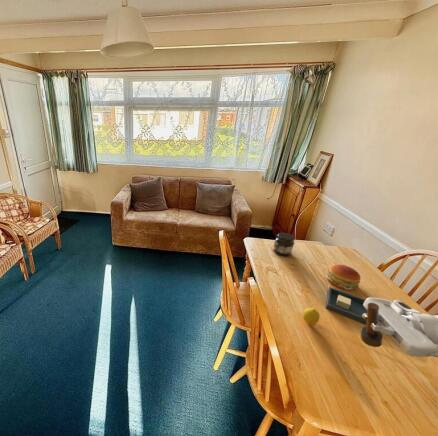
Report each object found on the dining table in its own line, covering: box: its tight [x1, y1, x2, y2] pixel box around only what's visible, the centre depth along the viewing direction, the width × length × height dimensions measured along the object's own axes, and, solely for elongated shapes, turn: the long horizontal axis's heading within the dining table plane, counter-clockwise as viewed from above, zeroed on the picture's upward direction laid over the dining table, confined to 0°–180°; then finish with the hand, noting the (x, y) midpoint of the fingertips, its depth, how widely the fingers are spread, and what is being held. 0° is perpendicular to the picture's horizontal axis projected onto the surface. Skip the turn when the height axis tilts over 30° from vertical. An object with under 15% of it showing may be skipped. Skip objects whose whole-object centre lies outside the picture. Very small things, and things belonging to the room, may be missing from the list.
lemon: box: [302, 307, 320, 325], centre depth 97 cm, size 6×6×8 cm
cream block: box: [336, 295, 351, 310], centre depth 106 cm, size 4×4×3 cm
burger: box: [325, 264, 361, 291], centre depth 119 cm, size 13×14×10 cm
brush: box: [360, 303, 383, 348], centre depth 75 cm, size 5×5×16 cm
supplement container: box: [272, 232, 296, 257], centre depth 145 cm, size 10×10×12 cm
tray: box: [325, 286, 381, 326], centre depth 103 cm, size 24×15×3 cm, turn 51°
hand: (368, 321), depth 75 cm, fingers closed on brush, 2 cm apart
